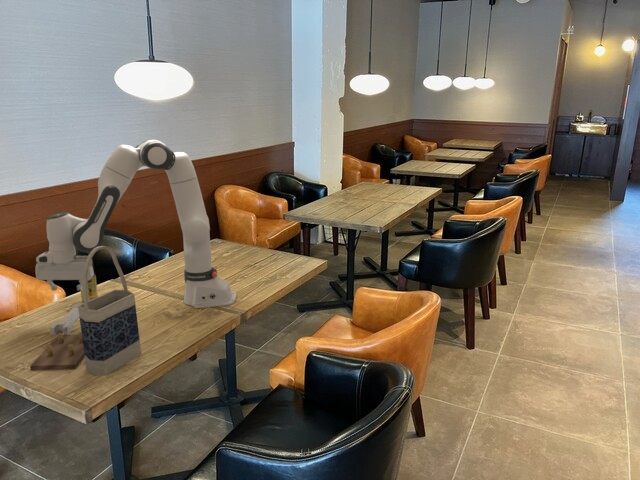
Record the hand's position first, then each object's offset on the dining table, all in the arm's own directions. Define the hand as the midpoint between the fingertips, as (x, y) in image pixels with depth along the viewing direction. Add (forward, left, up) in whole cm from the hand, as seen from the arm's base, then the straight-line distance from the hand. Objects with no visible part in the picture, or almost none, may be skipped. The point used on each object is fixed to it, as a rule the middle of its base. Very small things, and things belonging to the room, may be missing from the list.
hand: (67, 289), depth 194 cm
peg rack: (-8, +26, -13) cm, 31 cm away
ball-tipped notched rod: (0, 0, -13) cm, 13 cm away
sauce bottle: (-1, -18, -13) cm, 22 cm away
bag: (-26, +34, -13) cm, 45 cm away
